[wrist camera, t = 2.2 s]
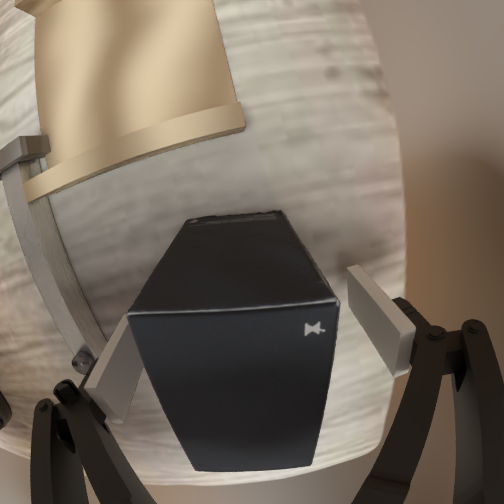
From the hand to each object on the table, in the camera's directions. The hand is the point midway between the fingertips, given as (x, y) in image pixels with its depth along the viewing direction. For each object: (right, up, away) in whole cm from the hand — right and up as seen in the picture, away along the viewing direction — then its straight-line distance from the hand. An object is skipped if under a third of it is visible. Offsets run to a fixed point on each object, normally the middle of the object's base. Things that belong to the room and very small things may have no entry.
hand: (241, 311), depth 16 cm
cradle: (-10, +16, -4) cm, 19 cm away
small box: (0, +1, +3) cm, 3 cm away
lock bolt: (-14, +3, +1) cm, 14 cm away
